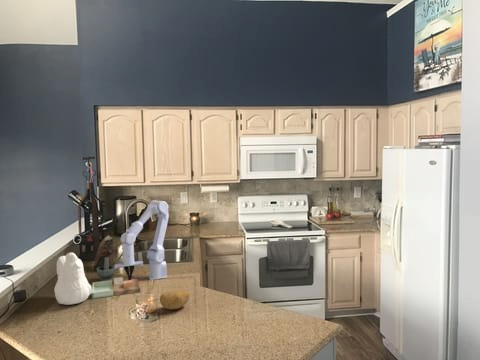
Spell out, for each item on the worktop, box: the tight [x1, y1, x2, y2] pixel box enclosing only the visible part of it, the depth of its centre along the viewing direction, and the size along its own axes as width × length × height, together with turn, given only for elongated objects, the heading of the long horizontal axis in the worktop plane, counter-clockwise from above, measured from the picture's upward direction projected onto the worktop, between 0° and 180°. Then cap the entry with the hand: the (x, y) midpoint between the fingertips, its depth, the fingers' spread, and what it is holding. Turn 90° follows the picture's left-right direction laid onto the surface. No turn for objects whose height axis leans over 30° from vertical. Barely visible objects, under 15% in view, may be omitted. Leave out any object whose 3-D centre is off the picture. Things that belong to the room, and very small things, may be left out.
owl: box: [92, 234, 116, 270], centre depth 237 cm, size 13×13×20 cm
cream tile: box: [113, 276, 124, 285], centre depth 205 cm, size 4×4×2 cm
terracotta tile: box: [123, 279, 133, 288], centre depth 199 cm, size 4×4×2 cm
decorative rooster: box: [53, 251, 92, 306], centre depth 186 cm, size 25×16×25 cm, turn 34°
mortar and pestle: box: [96, 257, 116, 282], centre depth 217 cm, size 11×9×12 cm
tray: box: [91, 279, 115, 300], centre depth 197 cm, size 10×17×3 cm, turn 20°
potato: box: [159, 289, 191, 311], centre depth 173 cm, size 10×14×8 cm
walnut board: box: [112, 278, 141, 297], centre depth 201 cm, size 13×17×2 cm
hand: (129, 279), depth 207 cm, fingers closed
